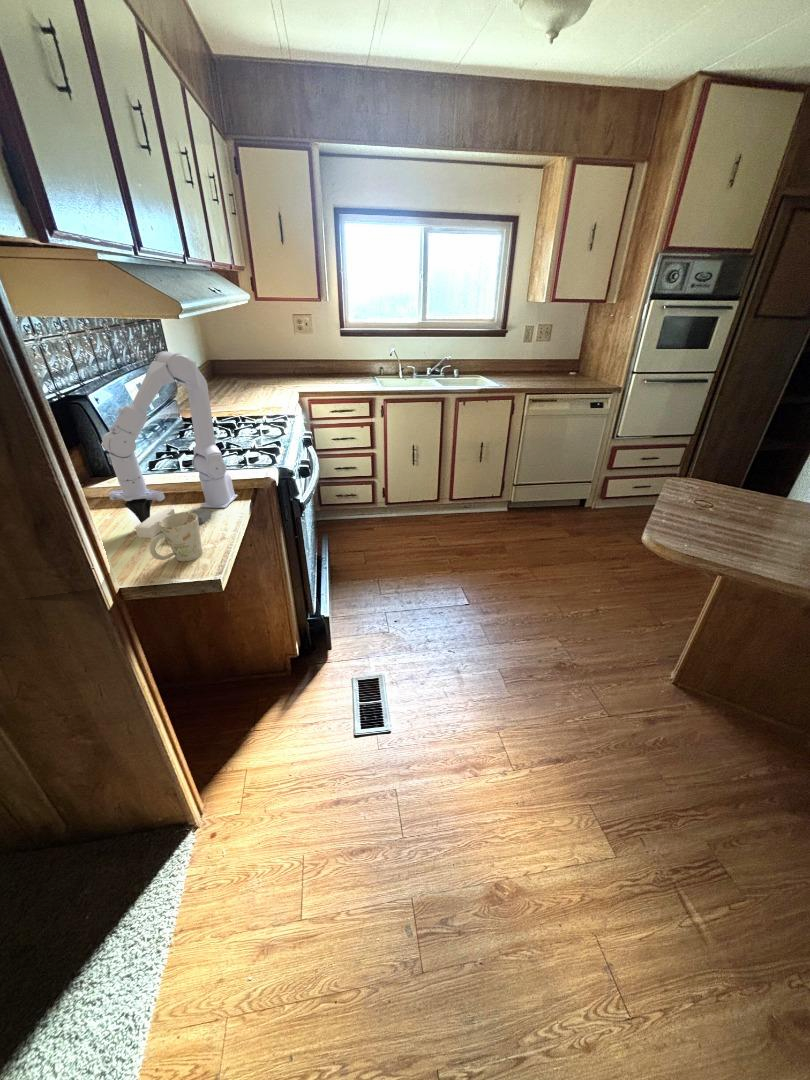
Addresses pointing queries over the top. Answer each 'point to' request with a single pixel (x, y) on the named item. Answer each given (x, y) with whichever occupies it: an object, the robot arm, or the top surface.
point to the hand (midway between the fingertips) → (146, 522)
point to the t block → (152, 524)
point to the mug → (179, 537)
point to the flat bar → (200, 516)
